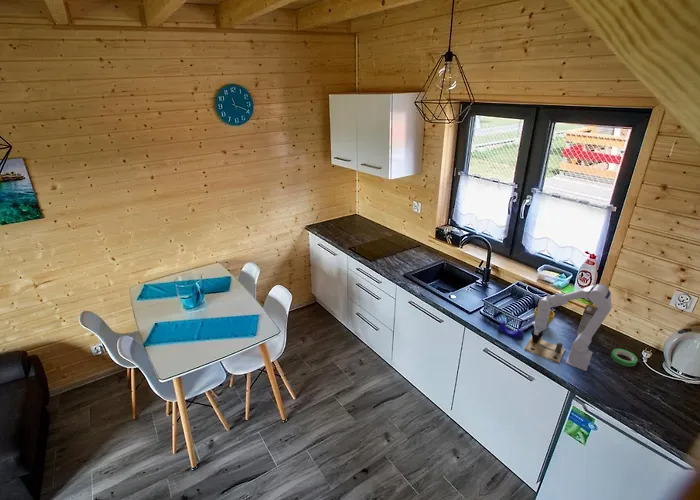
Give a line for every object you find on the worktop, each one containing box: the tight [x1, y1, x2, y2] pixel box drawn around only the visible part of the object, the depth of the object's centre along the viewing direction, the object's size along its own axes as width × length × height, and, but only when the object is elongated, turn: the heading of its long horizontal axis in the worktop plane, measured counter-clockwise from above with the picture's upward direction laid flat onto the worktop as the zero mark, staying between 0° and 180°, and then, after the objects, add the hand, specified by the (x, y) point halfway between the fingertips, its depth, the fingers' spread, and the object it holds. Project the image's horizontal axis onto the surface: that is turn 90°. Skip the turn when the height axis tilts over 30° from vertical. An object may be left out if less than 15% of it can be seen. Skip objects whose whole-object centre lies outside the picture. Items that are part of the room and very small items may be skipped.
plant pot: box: [533, 307, 555, 328], centre depth 227 cm, size 10×10×10 cm
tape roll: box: [610, 348, 638, 368], centre depth 203 cm, size 11×11×3 cm
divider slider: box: [531, 332, 544, 349], centre depth 210 cm, size 4×8×6 cm, turn 142°
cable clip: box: [498, 319, 524, 340], centre depth 221 cm, size 12×4×6 cm, turn 47°
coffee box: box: [576, 304, 598, 336], centre depth 219 cm, size 9×6×16 cm
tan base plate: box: [523, 335, 566, 364], centre depth 208 cm, size 17×13×6 cm
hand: (536, 339), depth 212 cm, fingers open, 7 cm apart
